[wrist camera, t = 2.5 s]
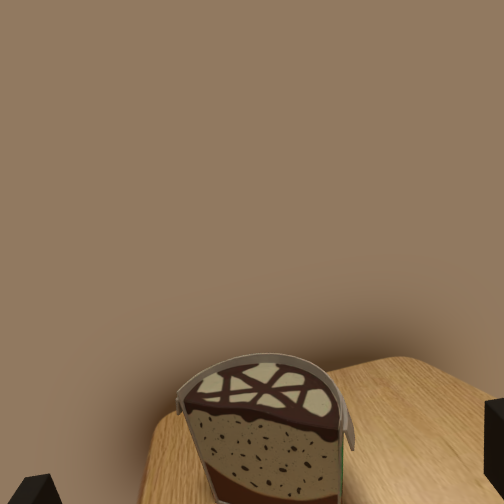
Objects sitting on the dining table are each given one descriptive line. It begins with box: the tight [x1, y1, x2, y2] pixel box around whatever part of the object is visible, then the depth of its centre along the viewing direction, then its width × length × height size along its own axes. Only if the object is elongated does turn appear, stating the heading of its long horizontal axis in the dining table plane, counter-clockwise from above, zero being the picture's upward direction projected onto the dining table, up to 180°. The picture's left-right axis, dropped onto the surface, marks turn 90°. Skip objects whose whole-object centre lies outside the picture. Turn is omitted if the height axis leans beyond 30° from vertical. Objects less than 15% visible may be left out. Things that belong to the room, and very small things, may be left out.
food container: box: [176, 353, 355, 504], centre depth 26 cm, size 12×6×10 cm, turn 67°
